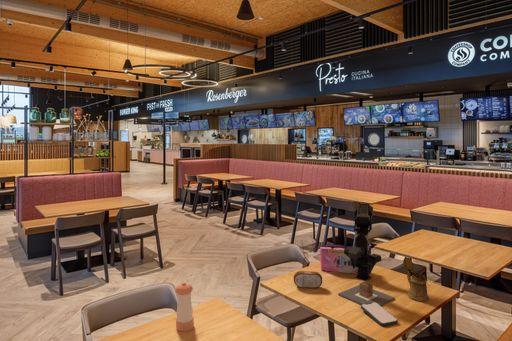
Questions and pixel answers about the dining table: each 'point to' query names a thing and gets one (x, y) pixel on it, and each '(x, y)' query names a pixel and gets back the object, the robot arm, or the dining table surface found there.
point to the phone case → (379, 314)
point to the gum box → (336, 259)
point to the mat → (354, 296)
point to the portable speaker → (307, 279)
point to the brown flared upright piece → (416, 283)
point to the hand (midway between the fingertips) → (361, 271)
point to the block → (366, 289)
